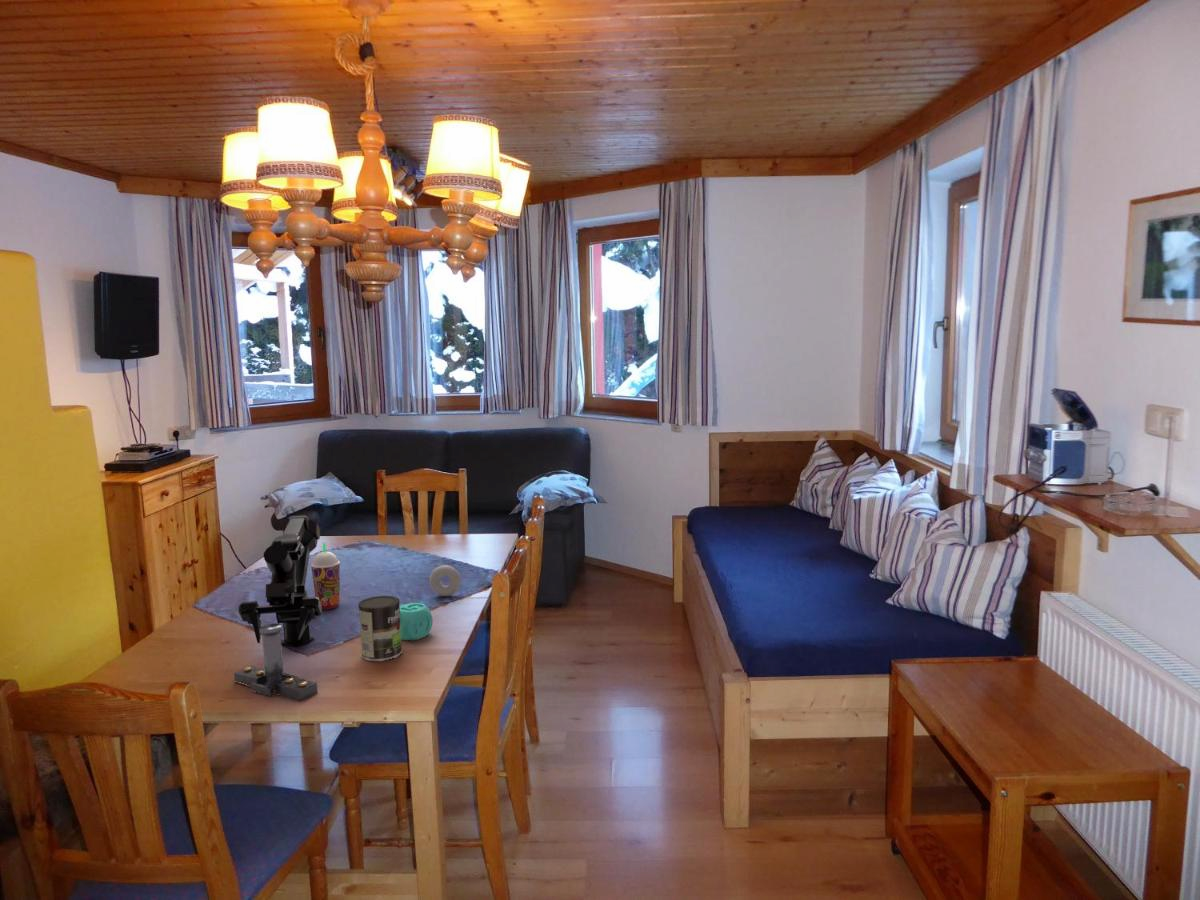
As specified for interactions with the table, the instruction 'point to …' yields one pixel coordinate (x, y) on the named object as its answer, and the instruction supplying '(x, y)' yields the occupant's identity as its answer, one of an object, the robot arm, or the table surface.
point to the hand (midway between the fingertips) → (278, 641)
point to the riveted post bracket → (287, 688)
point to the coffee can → (380, 628)
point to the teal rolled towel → (415, 621)
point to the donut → (451, 574)
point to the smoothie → (326, 578)
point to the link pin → (272, 654)
